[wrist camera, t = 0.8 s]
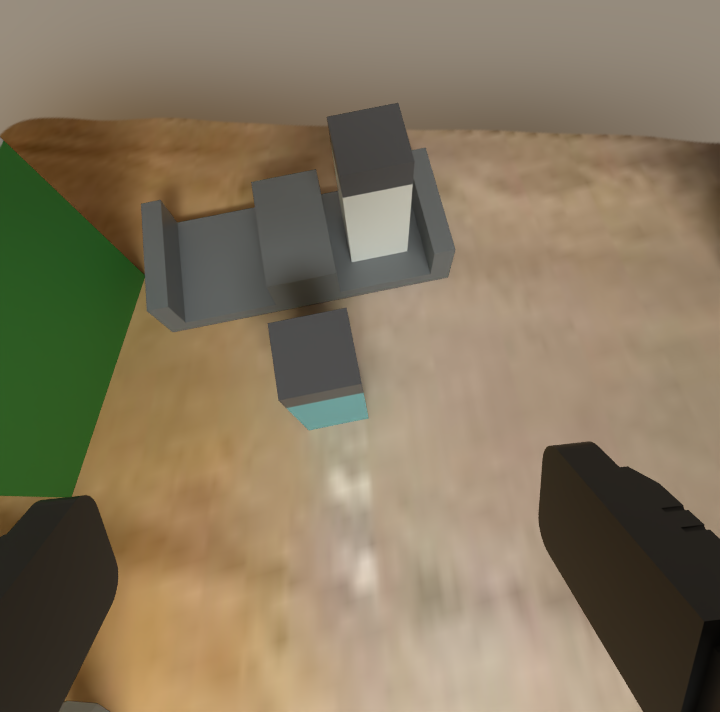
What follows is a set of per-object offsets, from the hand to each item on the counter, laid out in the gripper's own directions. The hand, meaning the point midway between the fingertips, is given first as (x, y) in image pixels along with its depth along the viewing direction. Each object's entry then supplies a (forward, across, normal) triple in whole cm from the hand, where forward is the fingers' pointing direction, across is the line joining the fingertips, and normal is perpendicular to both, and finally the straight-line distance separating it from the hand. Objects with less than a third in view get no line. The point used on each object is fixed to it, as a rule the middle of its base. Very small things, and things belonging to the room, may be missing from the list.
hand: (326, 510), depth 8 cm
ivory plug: (+31, -4, -1) cm, 31 cm away
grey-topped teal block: (+24, 0, +9) cm, 26 cm away
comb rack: (+32, +2, 0) cm, 32 cm away
